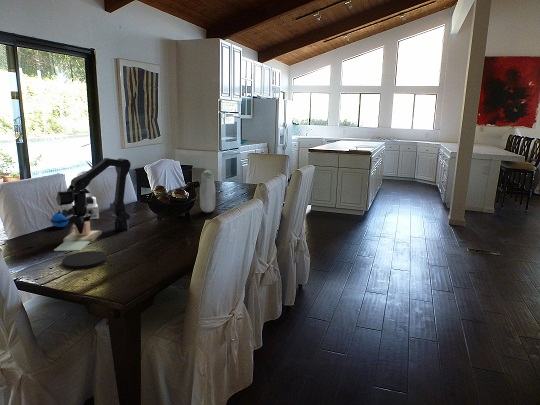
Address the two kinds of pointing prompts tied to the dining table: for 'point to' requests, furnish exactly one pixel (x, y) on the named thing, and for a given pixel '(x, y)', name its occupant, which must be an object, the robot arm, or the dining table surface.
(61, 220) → the ornament
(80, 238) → the post base
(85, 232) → the salmon pink cube
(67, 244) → the mat
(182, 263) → the dining table surface
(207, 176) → the white tall cylinder
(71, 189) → the robot arm
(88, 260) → the wireless charger
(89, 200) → the container
